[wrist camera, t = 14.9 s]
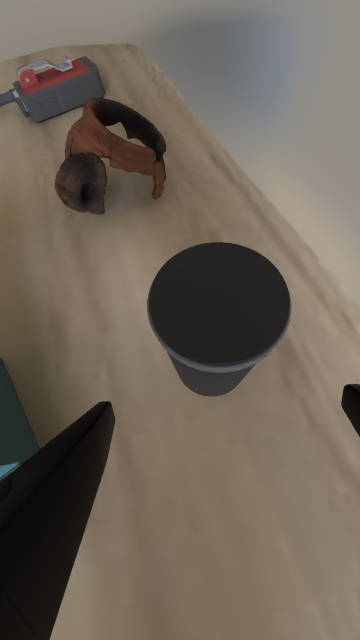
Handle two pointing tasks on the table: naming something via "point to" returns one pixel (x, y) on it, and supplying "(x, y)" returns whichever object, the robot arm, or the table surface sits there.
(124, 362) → the table surface
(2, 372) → the step shelf
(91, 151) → the brown looped band
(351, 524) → the table surface
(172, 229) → the table surface
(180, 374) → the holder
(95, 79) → the walkie-talkie
